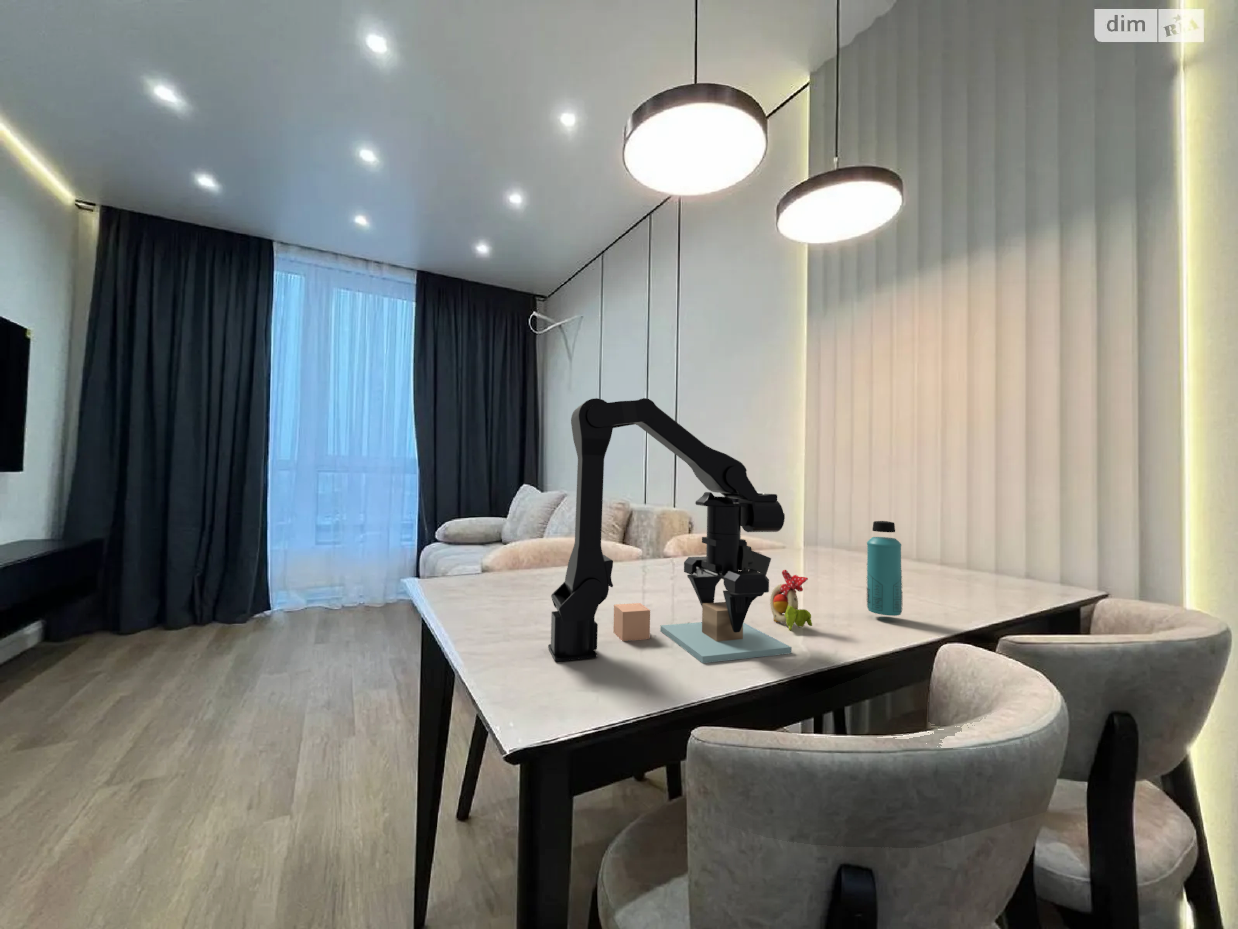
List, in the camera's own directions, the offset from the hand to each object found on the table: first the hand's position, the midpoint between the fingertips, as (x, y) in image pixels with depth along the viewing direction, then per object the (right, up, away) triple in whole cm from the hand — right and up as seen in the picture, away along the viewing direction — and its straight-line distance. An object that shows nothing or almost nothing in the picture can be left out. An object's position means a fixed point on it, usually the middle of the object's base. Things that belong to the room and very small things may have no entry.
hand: (722, 623), depth 83 cm
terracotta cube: (-16, -3, +2) cm, 16 cm away
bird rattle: (+15, -4, +10) cm, 18 cm away
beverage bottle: (+37, -5, +16) cm, 40 cm away
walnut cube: (0, -2, 0) cm, 2 cm away
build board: (0, -3, 0) cm, 3 cm away
